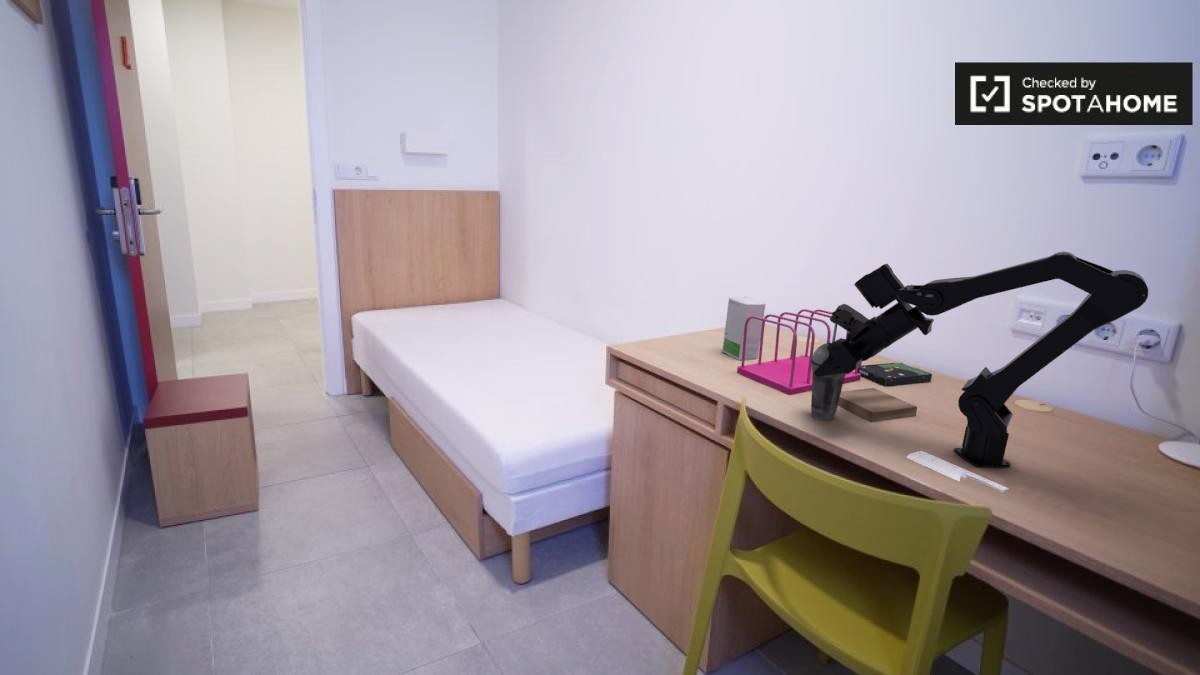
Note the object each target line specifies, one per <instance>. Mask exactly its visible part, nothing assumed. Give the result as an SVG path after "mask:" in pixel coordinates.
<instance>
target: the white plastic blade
mask: <svg viewBox="0 0 1200 675" xmlns="http://www.w3.org/2000/svg"><path fill="white" fill-rule="evenodd" d="M905 459H908V460H911V461H913V462H915V463H917V464H919V465H921V466H924V467H926V468H929V469H930V470H933V471H935V472H937V473H939V474H941V475H943V476H946V477H948V478H950V479H953V480H955V481H957V482H959V483H960V482H961V480H965V481H967V480H968V479H967V478H969V479H971V480H973V481H976V482H979V483H981V484H983V485H986V486H988V487H990V488H992V489H994V490H996V491H997V492H1000V493H1002V494H1004V493H1006V492H1008V491H1009V489H1010V488H1008V486H1007V487H1006V486H1004V485H1002V484H1000V483H997V482H995V481H992V480H991V479H987V478H986V477H983V476H981V475H979V474H977V473H974V472H971V471H969V470H967V469H965V468H963V467H961V466H958V465H955V464H953V463H951V462H949V461H946V460H944V459H942V458H939V457H938V456H935V455H932V454H930V453H928V452H925V451H923V450H920V451H918V450H917V451H916V452H912V453H909V454H908V455H907V456H906V457H905Z"/></svg>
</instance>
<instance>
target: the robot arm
mask: <svg viewBox="0 0 1200 675" xmlns="http://www.w3.org/2000/svg"><path fill="white" fill-rule="evenodd" d="M1054 280H1061V281H1063V282H1066V283H1067V284H1070V285H1072V286H1073V287H1075V288H1077V289H1080V290H1082V291H1083V292H1085V293H1088V294H1087V295H1086V296H1085V297H1084V298H1083V300H1082V301H1081V302H1080V304H1079V305H1078V306H1077V307H1076V309H1074V310H1073V311H1072V312H1071V313H1070V314H1068V315H1067V316H1066V317H1065V318H1063V319H1062V320H1061V321H1060V322H1059V323H1057V324H1056V325H1055V326H1054V327H1052V328H1051V329H1050V330H1049V331H1047V332H1046V333H1044V334H1043V335H1042V336H1041V337H1039V338H1038V339H1037V340H1035V341H1034V342H1033V343H1032V344H1031V345H1030V346H1028V347H1027V348H1025V349H1024V350H1023V351H1022V352H1020V353H1019V354H1018V355H1017V356H1016V357H1014V358H1013V359H1012V360H1010V361H1009V362H1008V363H1007V364H1006V365H1004V366H1002V367H1000V368H999V369H996V370H994V371H992V372H991V370H989V368H988V367H987V366H984V368H983V369H982V370H981V371H980V372H979V373H978V375H977V376H974V377H973V378H970V379H968V380H967V381H966V382H965V384H964V385H963V387H962V388H961V390H962V391H963V392H962V393H961V395H960V396H959V398H958V408H959V410H960V412H961V414H962V415H963V416H965V417H966V420H967V425H966V426H965V430H964V434H963V439H962V444H961V447H954V449H953V452H955V453H956V454H958V455H959V456H961V457H962V458H963V459H965V460H966V461H968V462H969V463H970V464H971V465H973V466H975V467H996V468H997V467H1000V468H1001V467H1002V468H1004V467H1007V468H1010V467H1011V463H1010V462H1009V461H1007V460H1006V459H1004V458H1005V454H1006V448H1007V444H1008V441H1009V437H1010V433H1009V432H1008V426H1009V424H1010V422H1011V420H1012V417H1013V415H1014V414H1013V413H1012V411H1011V410H1010V409H1009V407H1008V406H1007V405H1006V404H1005V403H1006V402H1008V400H1009V399H1010V398H1011V396H1012V395H1013V394H1014V392H1016V391H1017V389H1018V388H1019V387H1020V386H1021V385H1023V384H1024V383H1026V382H1027V381H1028V380H1029V379H1031V378H1032V377H1033V376H1035V375H1036V374H1037V373H1038V372H1040V371H1041V370H1044V368H1045V367H1046V366H1048V365H1049V364H1051V363H1052V362H1054V361H1055V360H1056V359H1057V358H1058V357H1059V356H1061V355H1063V354H1064V353H1065V352H1066V351H1068V350H1069V349H1071V348H1072V347H1073V346H1075V345H1076V344H1077V343H1078V342H1079V341H1081V340H1082V339H1084V338H1085V337H1086V336H1088V335H1089V334H1090V333H1092V332H1094V331H1095V330H1097V329H1098V328H1101V327H1103V326H1105V325H1107V324H1110V323H1112V322H1114V321H1117V320H1118V319H1120V318H1122V317H1124V316H1126V315H1128V314H1130V313H1131V312H1134V311H1135V310H1137V309H1139V308H1141V307H1142V306H1143V305H1144V304H1145V303H1146V301H1147V300H1148V296H1149V288H1148V285H1147V283H1146V281H1145V280H1146V279H1144V277H1142V276H1141V275H1140V274H1139V273H1137V272H1135V271H1132V270H1128V269H1120V270H1119V269H1118V270H1112V269H1110V268H1107V267H1104V266H1102V265H1100V264H1096V263H1093V262H1091V261H1088V260H1085V259H1083V258H1080V257H1078V256H1075V254H1073V253H1072V252H1069V251H1068V252H1067V251H1058V252H1055V253H1054V254H1052V255H1050V256H1046V257H1042V258H1038V259H1034V260H1031V261H1030V260H1029V261H1027V262H1023V263H1022V262H1021V263H1020V264H1019V263H1018V264H1015V265H1012V266H1009V267H1005V268H1001V269H997V270H992V271H990V272H986V273H981V274H978V275H973V276H963V277H962V276H961V277H952V278H951V277H949V278H941V279H934V280H932V281H929V282H927V283H925V284H920V285H919V284H917V285H915V284H910V285H909V284H908V285H906V286H905V285H904V284H903V283H902V281H901V280H900V279H899V277H898V276H897V275H896V274H895V273H894V270H893V268H892V267H891V266H890V265H889V264H888V263H885V264H882V265H881V266H880V267H877V268H876V269H874V270H872V271H871V272H869V273H866V274H864V275H863V276H862V277H860V278H859V279H858V280H857V281H856V282H854V284H853V285H854V286H855V288H856V289H857V290H858V292H859V293H860V294H861V295H862V296H863V298H864V300H866V302H867V303H868V305H869V306H870V307H871V308H875V309H877V308H878V309H880V310H882V309H884V308H885V307H887V306H889V305H890V304H891V303H893V302H894V301H896V302H897V303H895V304H894V305H892V306H890V307H889V308H887V309H886V310H884V311H883V312H881V313H880V314H878V315H877V316H873V317H871V318H867V317H866V316H865V315H864V314H863V313H861V312H859V311H857V309H856V308H855V309H854V308H853V307H851V305H848V304H846V303H842V304H840V305H837V307H836V309H835V310H834V311H831V312H832V315H830V316H831V318H829V321H830V322H831V323H833V324H834V325H835V323H836V324H837V326H838V327H840V328H842V329H844V330H845V331H846V332H847V331H849V333H848V334H847V333H845V334H846V335H847V339H846V338H842V337H841V338H838V339H837V340H835V342H833V343H832V342H831V343H832V344H830V345H829V346H827V349H828V351H829V356H828V358H827V359H826V360H825V361H824V362H823V363H822V364H821V365H820V366H819V367H818V368H817V369H816V370H815V371H814V374H815V376H816V377H820V376H827V375H834V374H841V373H846V374H849V373H850V372H852V371H854V372H855V369H857V368H858V367H859V366H862V362H866V361H867V360H869V359H870V358H873V357H875V356H876V355H878V354H880V353H881V352H882V351H883V350H884V349H887V348H889V347H890V346H891V345H892V344H894V343H896V342H898V341H899V340H900V339H902V338H904V337H905V336H907V335H908V334H910V333H912V332H913V331H915V330H917V329H918V330H920V332H921V333H922V334H923V335H924V336H927V335H928V334H930V333H931V332H932V326H933V323H934V321H935V319H934V318H929V317H926V316H932V317H933V316H938V315H941V314H943V313H946V312H948V311H951V310H953V309H955V308H958V307H961V306H962V305H965V304H967V303H969V302H972V301H974V300H976V299H979V298H984V297H987V296H992V295H996V294H999V293H1000V294H1001V293H1004V292H1009V291H1011V290H1016V289H1020V288H1025V287H1029V286H1033V285H1037V284H1040V283H1044V282H1048V281H1054ZM913 306H914V307H913ZM924 314H925V315H926V316H925V315H924ZM846 335H845V336H846Z"/></svg>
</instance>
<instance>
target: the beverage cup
mask: <svg viewBox="0 0 1200 675" xmlns="http://www.w3.org/2000/svg"><path fill="white" fill-rule="evenodd" d="M837 330H838V324H836V323H835V324H834V328H833V333H832V334H833V335H832V340H831V342H830V343H827V342H825V343H823V344H821V345H819V346H818V347H817V348H816V350H815V351H813V358H812V360H811V362H812V371H813V376H812V391H811V403H810V411H811V412H810V416H811V417H812V418H814V419H816V420H819V421H826V422H827V421H834V419H835V416H836V412H837V409H838V407H839V405H838V402H839V398H840V394H841V392H842V391H843V386H844V384H843V382H844V378H845V376H846V373H841V374H834V375H827V376H820V377H816V376H815V374H814V371H815V370H816V369H817V368H818V367H819V366H820V365H821V364H822V363H823V362H824V361H825V360H826V359H827V358H828V356H829V351H828V349H827V346H829V345H830V344H832V343H833V342H835V341H836V335H837Z"/></svg>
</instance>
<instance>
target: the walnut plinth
mask: <svg viewBox="0 0 1200 675" xmlns="http://www.w3.org/2000/svg"><path fill="white" fill-rule="evenodd" d="M838 407H841V408H843V409H845V410H847V411H849V412H852V414H855V415H857V416H859V417H861V418H863V419H865V420H867V421H869V422H871V423H873V422H874V423H875V422H879V421H881V422H882V421H886V420H887V421H888V420H894V419H902V418H907V417H915V416H917V412H918V406H916V405H914V404H913V403H912V404H911V403H910V402H907V401H905V400H903V399H901V398H898V397H895V396H893V395H891V394H889V393H887V392H884V391H882V390H880V389H877V388H875V387H870V388H869V387H868V388H859V389H853V390H844V391H843V390H841V394H840V398H839V402H838Z"/></svg>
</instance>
